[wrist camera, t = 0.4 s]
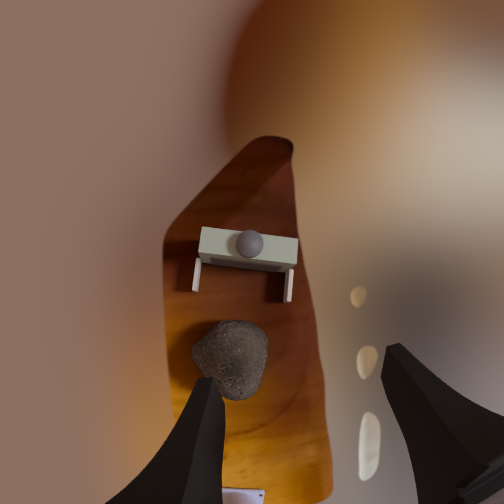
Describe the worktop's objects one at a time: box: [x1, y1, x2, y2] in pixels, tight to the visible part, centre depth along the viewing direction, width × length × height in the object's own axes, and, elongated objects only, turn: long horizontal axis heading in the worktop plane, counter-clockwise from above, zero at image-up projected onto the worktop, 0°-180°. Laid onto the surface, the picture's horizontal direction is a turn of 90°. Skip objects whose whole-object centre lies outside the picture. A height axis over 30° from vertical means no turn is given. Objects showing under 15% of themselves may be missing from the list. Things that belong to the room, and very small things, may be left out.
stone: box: [191, 320, 268, 401], centre depth 35 cm, size 10×8×10 cm
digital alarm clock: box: [192, 227, 298, 303], centre depth 36 cm, size 7×12×7 cm, turn 84°
